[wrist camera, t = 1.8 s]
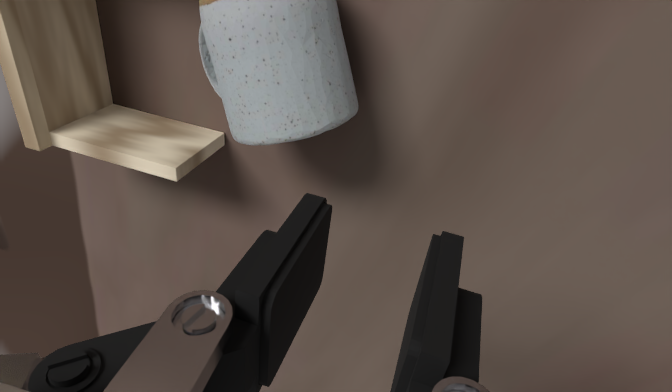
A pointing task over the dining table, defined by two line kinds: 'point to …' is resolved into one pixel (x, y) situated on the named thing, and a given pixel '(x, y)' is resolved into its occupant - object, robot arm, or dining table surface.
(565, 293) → the dining table surface
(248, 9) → the ceramic mug
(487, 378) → the dining table surface
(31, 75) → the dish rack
